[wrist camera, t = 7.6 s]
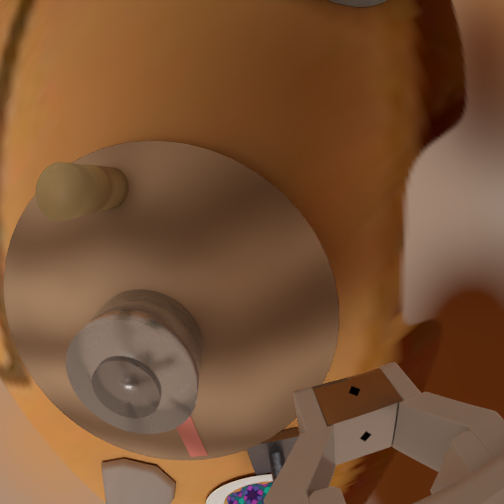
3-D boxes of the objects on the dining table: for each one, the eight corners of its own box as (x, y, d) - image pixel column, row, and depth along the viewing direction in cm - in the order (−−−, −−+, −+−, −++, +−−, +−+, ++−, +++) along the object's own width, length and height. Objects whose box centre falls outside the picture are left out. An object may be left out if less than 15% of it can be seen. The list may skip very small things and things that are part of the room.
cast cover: (81, 298, 15) (40, 335, 10) (187, 279, 15) (171, 317, 11) (118, 390, 16) (95, 440, 12) (215, 380, 16) (212, 436, 12)
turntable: (-9, 200, 15) (-83, 213, 8) (298, 113, 15) (343, 71, 9) (88, 443, 19) (63, 504, 13) (337, 414, 20) (369, 484, 13)
